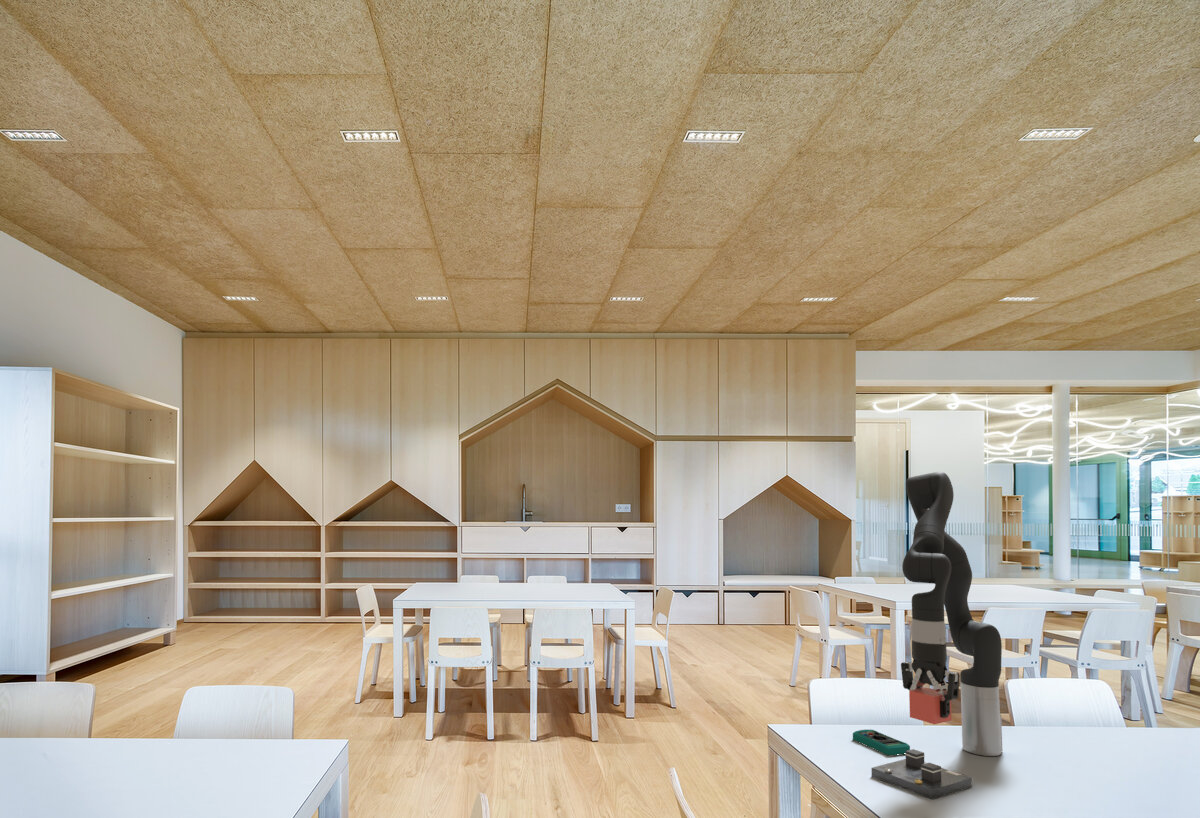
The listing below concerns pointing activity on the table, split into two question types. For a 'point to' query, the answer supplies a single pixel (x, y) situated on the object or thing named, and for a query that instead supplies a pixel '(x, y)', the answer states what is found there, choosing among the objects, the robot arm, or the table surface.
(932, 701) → the red cube
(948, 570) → the robot arm
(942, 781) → the breaker panel
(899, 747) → the digital multimeter
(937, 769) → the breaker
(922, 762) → the breaker
